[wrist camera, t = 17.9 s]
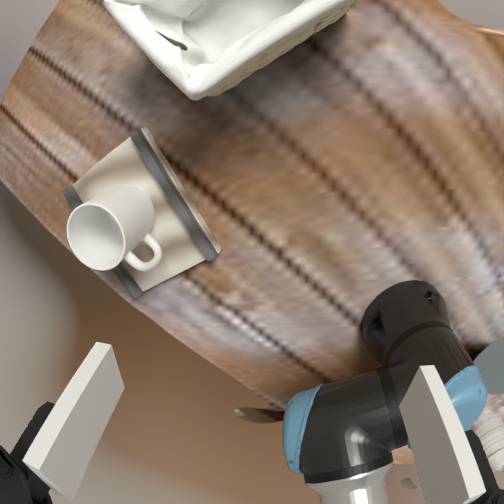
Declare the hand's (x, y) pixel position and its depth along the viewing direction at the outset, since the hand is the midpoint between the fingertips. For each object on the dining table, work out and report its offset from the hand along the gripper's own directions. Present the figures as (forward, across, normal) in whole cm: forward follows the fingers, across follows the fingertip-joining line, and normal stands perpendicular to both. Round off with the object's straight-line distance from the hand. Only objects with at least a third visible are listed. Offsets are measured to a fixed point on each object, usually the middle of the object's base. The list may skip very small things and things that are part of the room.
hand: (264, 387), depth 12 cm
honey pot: (+32, -72, +63) cm, 101 cm away
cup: (+30, +18, +4) cm, 36 cm away
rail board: (+32, +19, +4) cm, 37 cm away
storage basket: (+32, +4, -25) cm, 41 cm away
